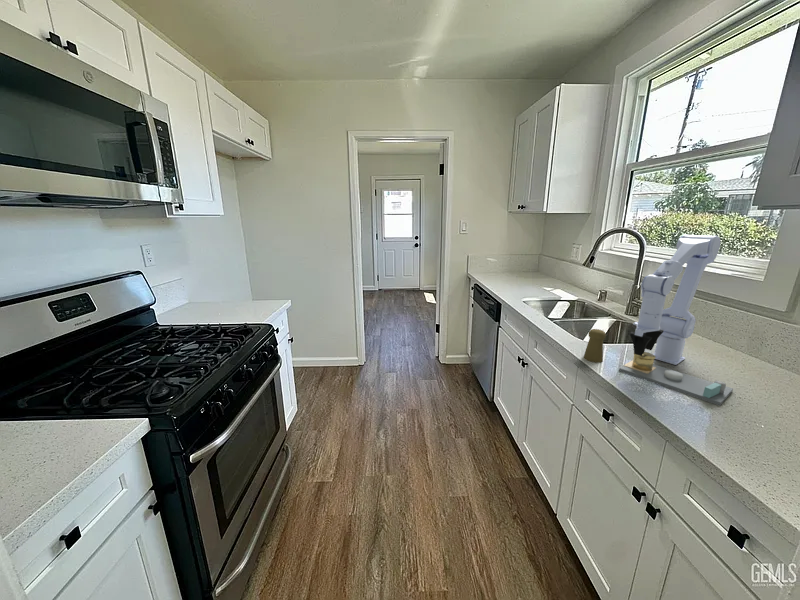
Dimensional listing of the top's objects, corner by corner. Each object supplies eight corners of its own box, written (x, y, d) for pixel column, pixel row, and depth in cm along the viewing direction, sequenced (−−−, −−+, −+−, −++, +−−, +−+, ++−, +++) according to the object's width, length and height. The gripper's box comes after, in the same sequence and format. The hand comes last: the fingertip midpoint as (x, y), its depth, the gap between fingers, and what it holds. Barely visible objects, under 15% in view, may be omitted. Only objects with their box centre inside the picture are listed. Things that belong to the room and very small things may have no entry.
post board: (635, 361, 117) (636, 354, 116) (732, 391, 97) (734, 383, 96) (618, 370, 110) (620, 363, 109) (719, 405, 90) (722, 397, 89)
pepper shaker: (601, 364, 114) (606, 334, 112) (582, 359, 118) (586, 330, 115) (603, 358, 119) (608, 329, 116) (584, 354, 123) (589, 326, 120)
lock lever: (714, 388, 96) (716, 380, 96) (725, 392, 94) (727, 383, 94) (700, 394, 93) (702, 386, 92) (711, 399, 91) (713, 390, 90)
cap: (635, 361, 113) (638, 349, 112) (655, 368, 109) (658, 355, 108) (628, 366, 110) (630, 353, 109) (648, 372, 106) (651, 359, 105)
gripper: (645, 306, 113) (638, 343, 116) (627, 313, 105) (619, 353, 108) (670, 310, 107) (662, 349, 110) (653, 319, 99) (644, 360, 102)
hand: (643, 351), depth 109 cm, fingers open, 7 cm apart
